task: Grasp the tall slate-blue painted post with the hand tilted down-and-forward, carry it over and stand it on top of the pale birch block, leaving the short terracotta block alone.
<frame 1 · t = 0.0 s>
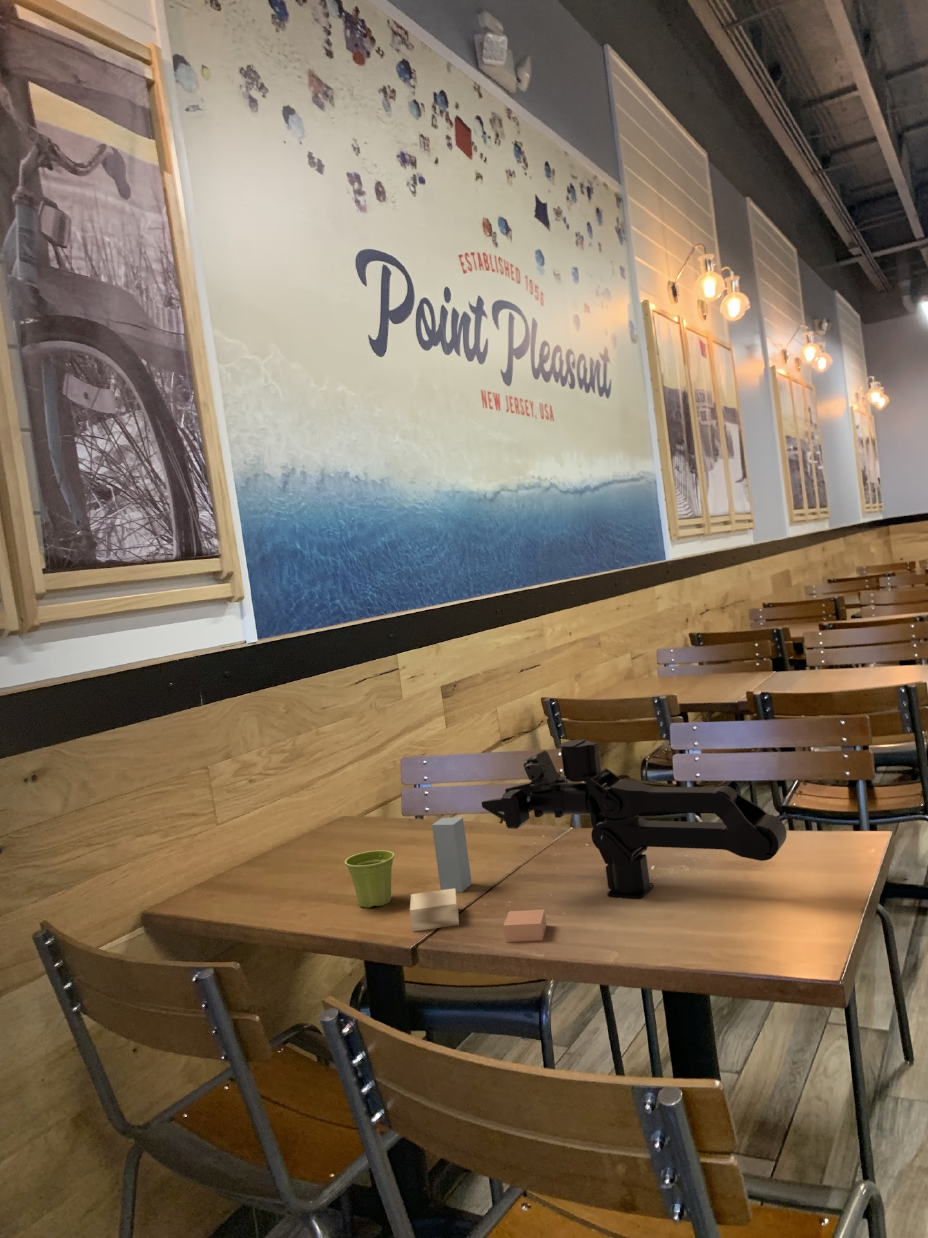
hand: (494, 797, 176), 17 cm above the table, tool horizontal, fingers open, 9 cm apart
slate post: (456, 887, 178), on the table
birch base: (436, 921, 162), on the table
plant pot: (375, 903, 175), on the table
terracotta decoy: (526, 935, 150), on the table
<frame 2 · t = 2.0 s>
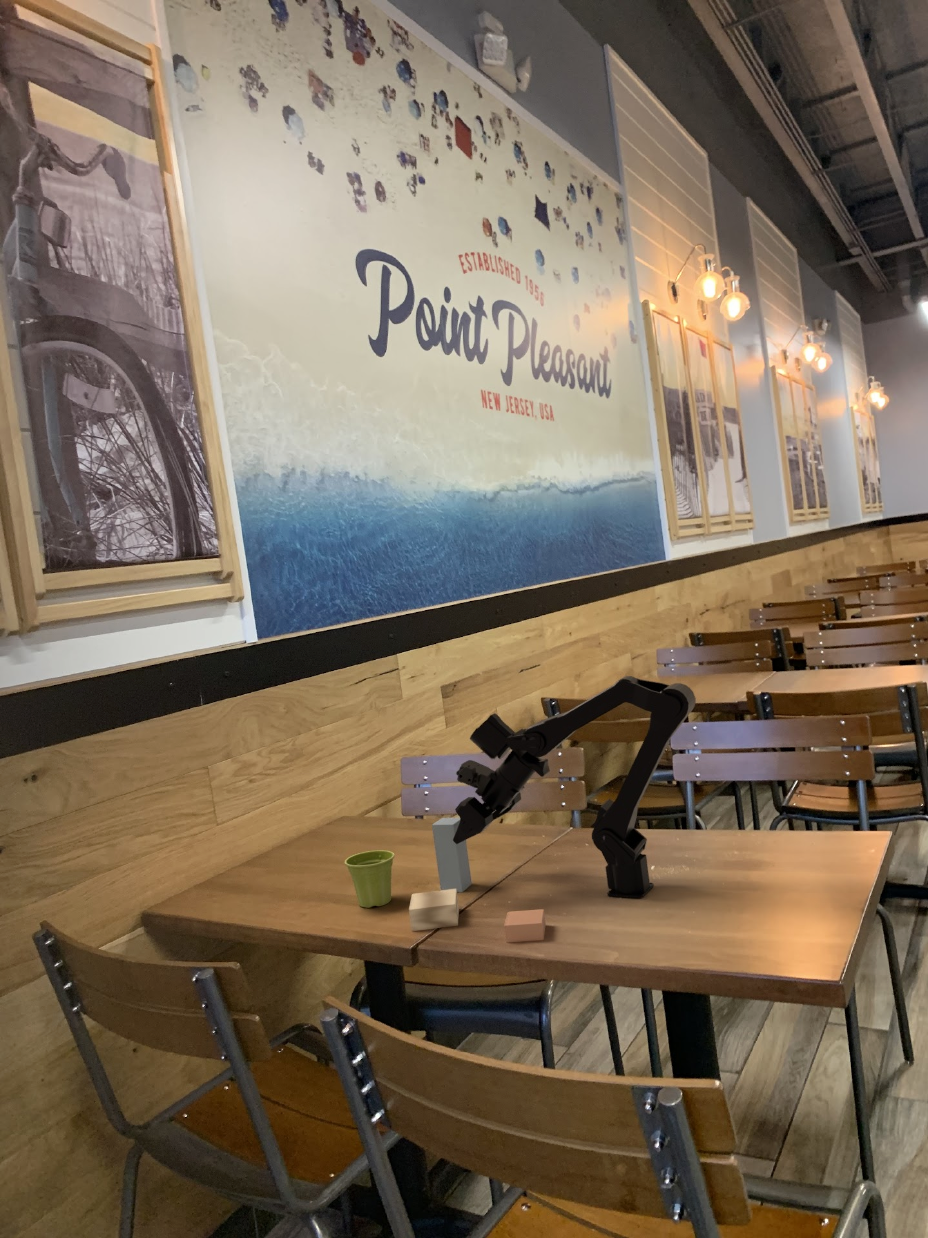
hand: (465, 834, 176), 10 cm above the table, tool tilted 45°, fingers open, 9 cm apart
nothing on the table moved.
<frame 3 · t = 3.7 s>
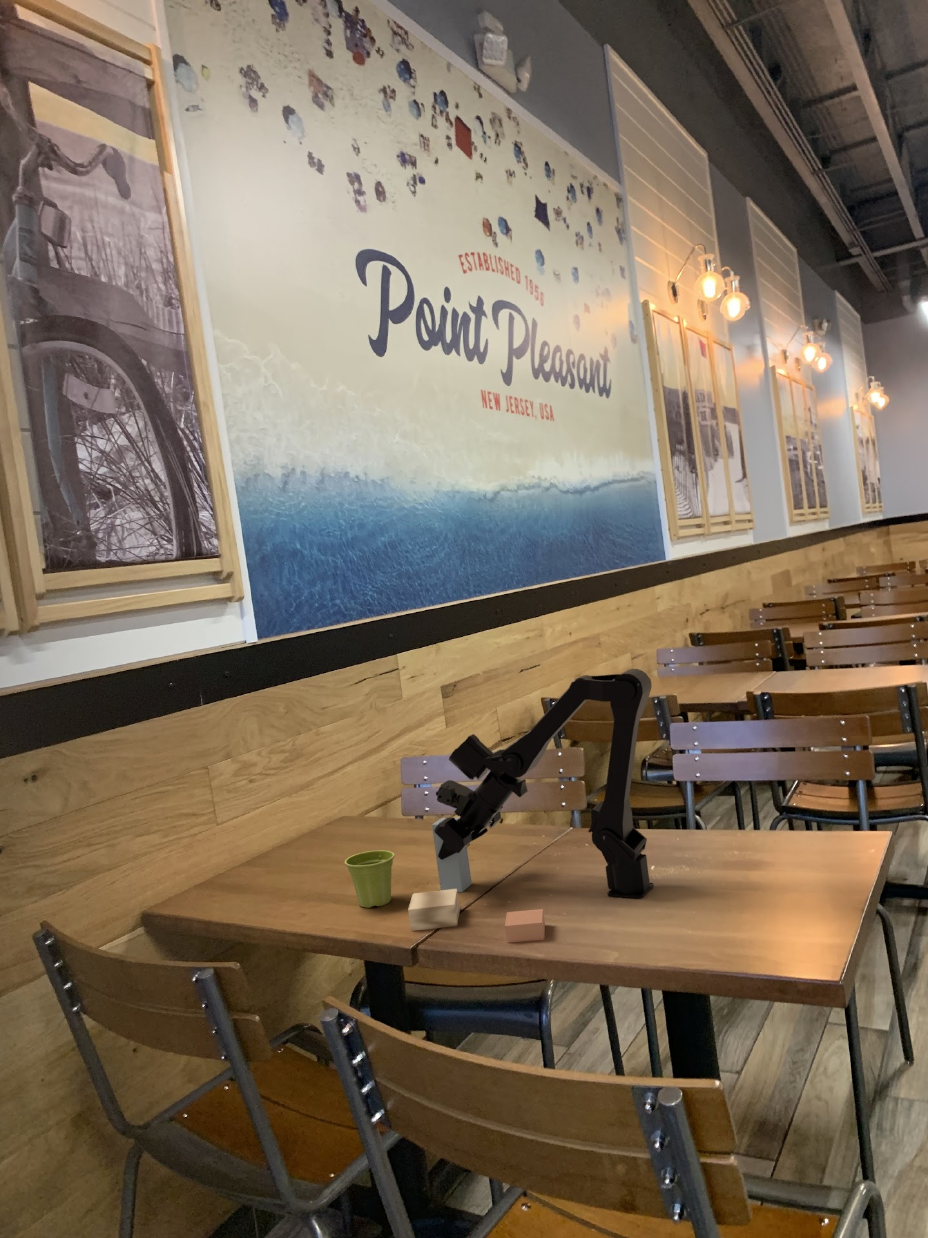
hand: (445, 854, 178), 7 cm above the table, tool tilted 45°, fingers closed on slate post, 4 cm apart
slate post: (456, 887, 178), on the table, touching gripper
everything else where it was.
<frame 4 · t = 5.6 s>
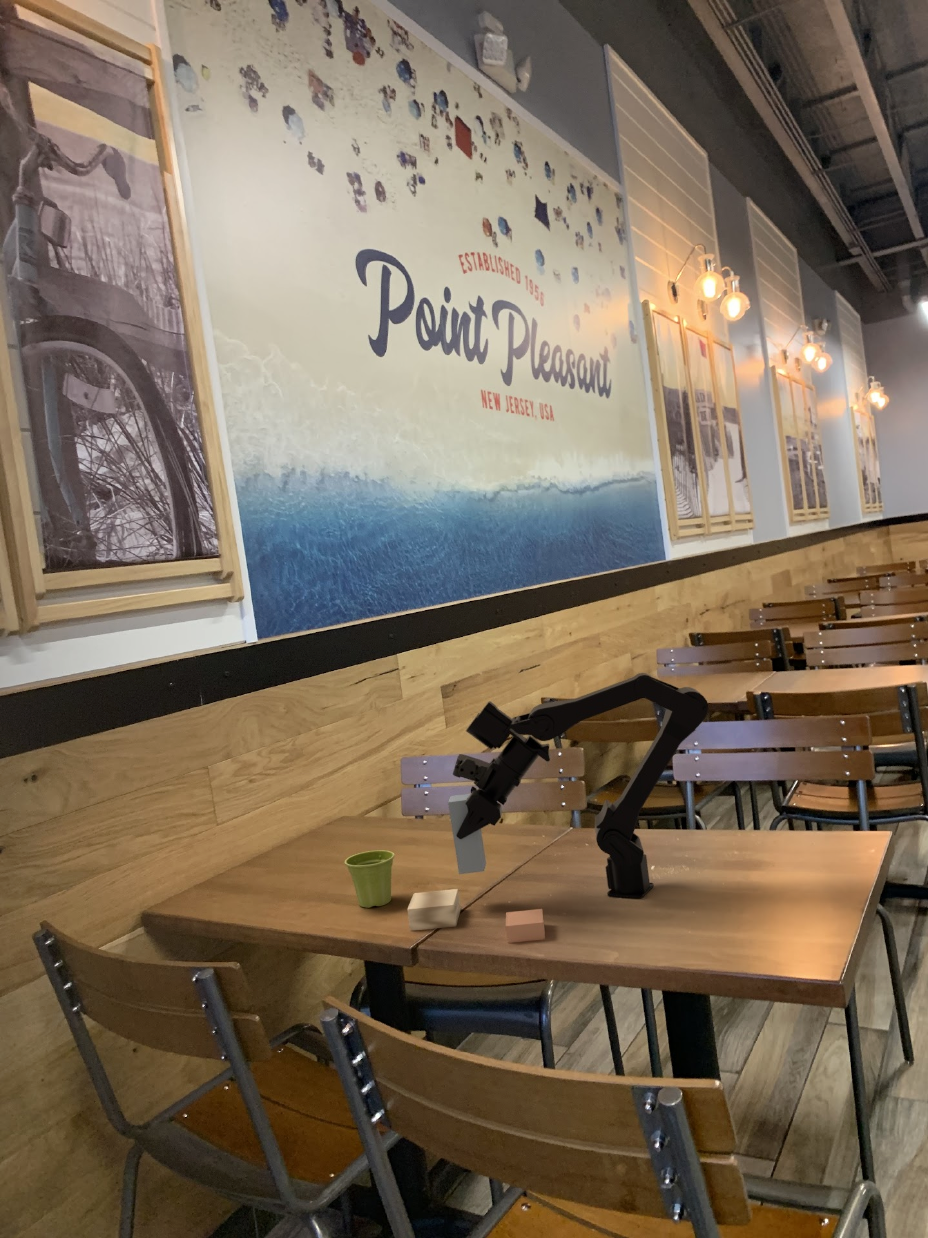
hand: (459, 833, 166), 13 cm above the table, tool tilted 45°, fingers closed on slate post, 4 cm apart
slate post: (472, 868, 166), point 7 cm above the table, touching gripper
everything else where it was.
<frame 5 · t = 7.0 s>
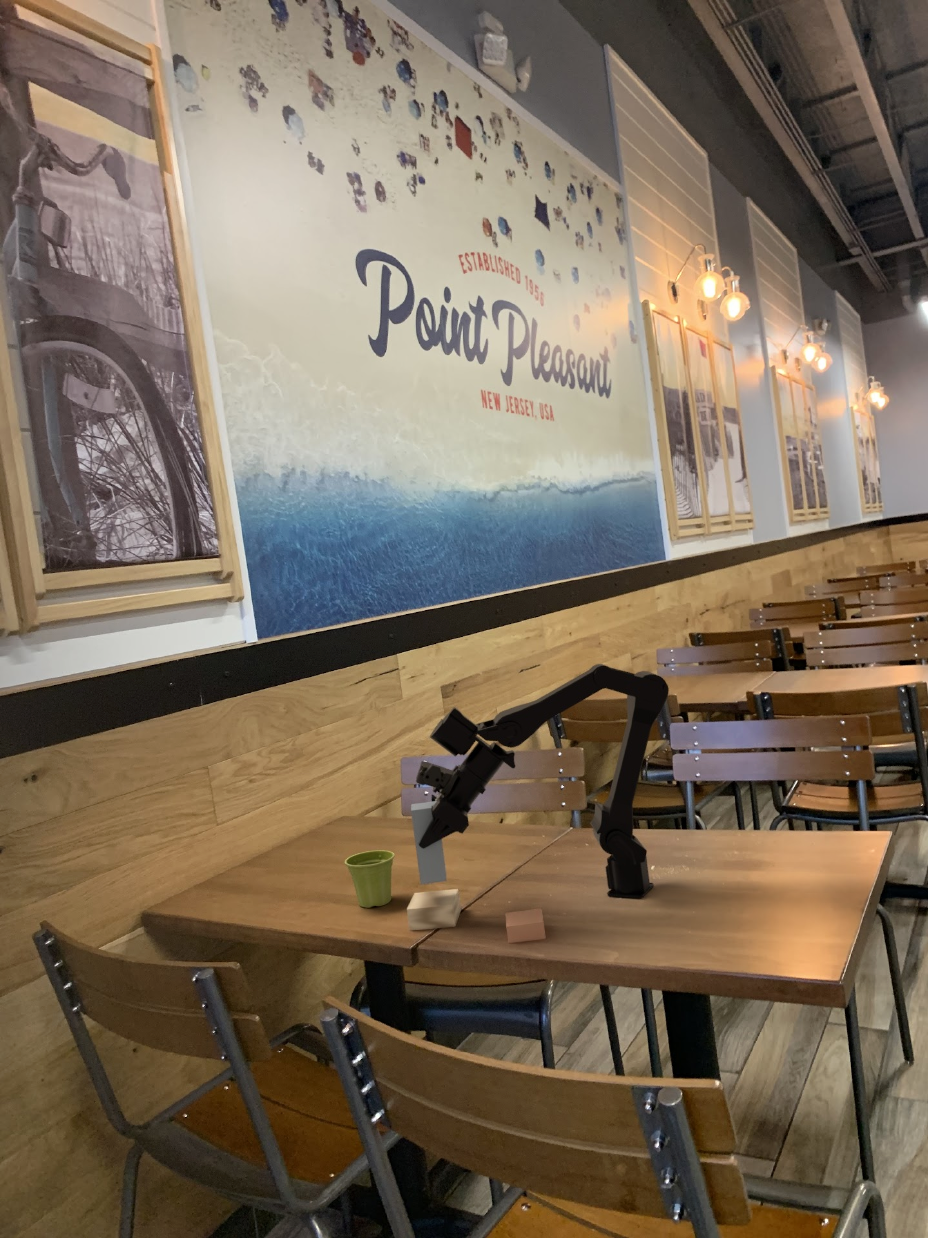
hand: (421, 843, 162), 14 cm above the table, tool tilted 45°, fingers closed on slate post, 4 cm apart
slate post: (433, 878, 162), point 7 cm above the table, touching gripper
everything else where it was.
when the fingers open (12 cm above the table, at t = 7.8 s): slate post drops 1 cm, point 4 cm above the table.
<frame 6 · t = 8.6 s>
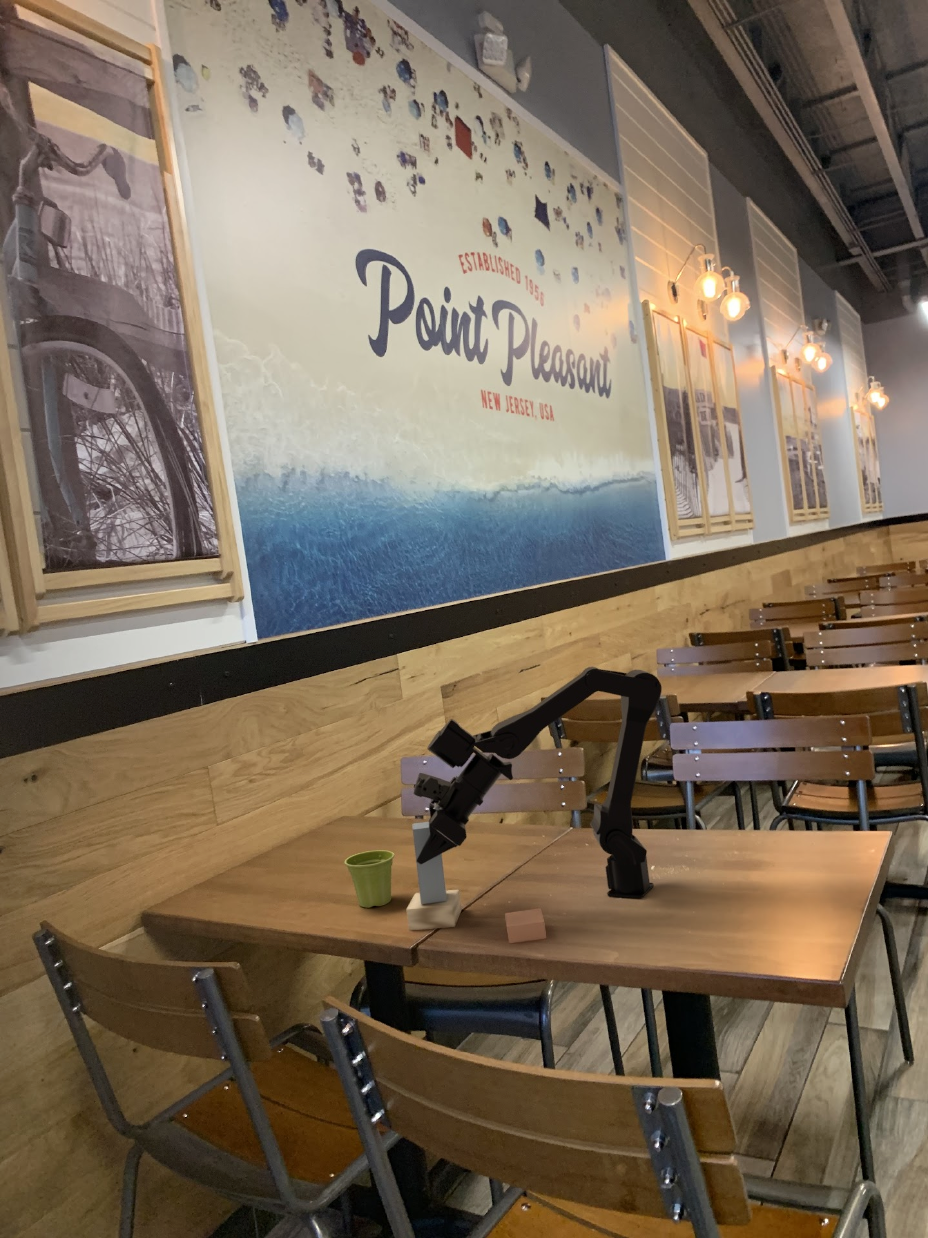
hand: (419, 854, 162), 12 cm above the table, tool tilted 45°, fingers open, 9 cm apart
slate post: (433, 898, 162), point 4 cm above the table
everything else where it was.
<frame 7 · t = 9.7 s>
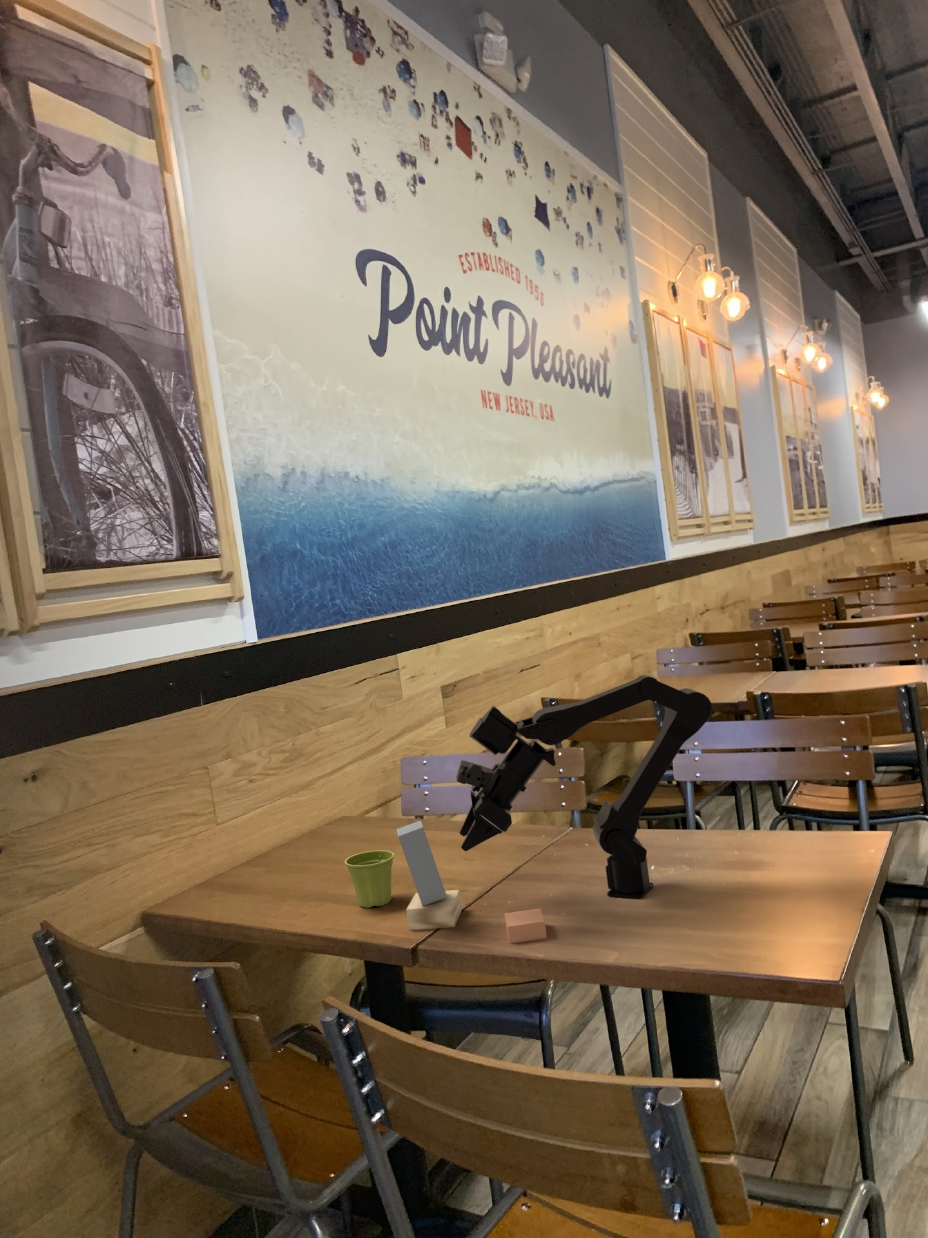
hand: (462, 842, 162), 13 cm above the table, tool tilted 45°, fingers open, 9 cm apart
slate post: (433, 897, 162), point 4 cm above the table, tilted 11°
everything else where it was.
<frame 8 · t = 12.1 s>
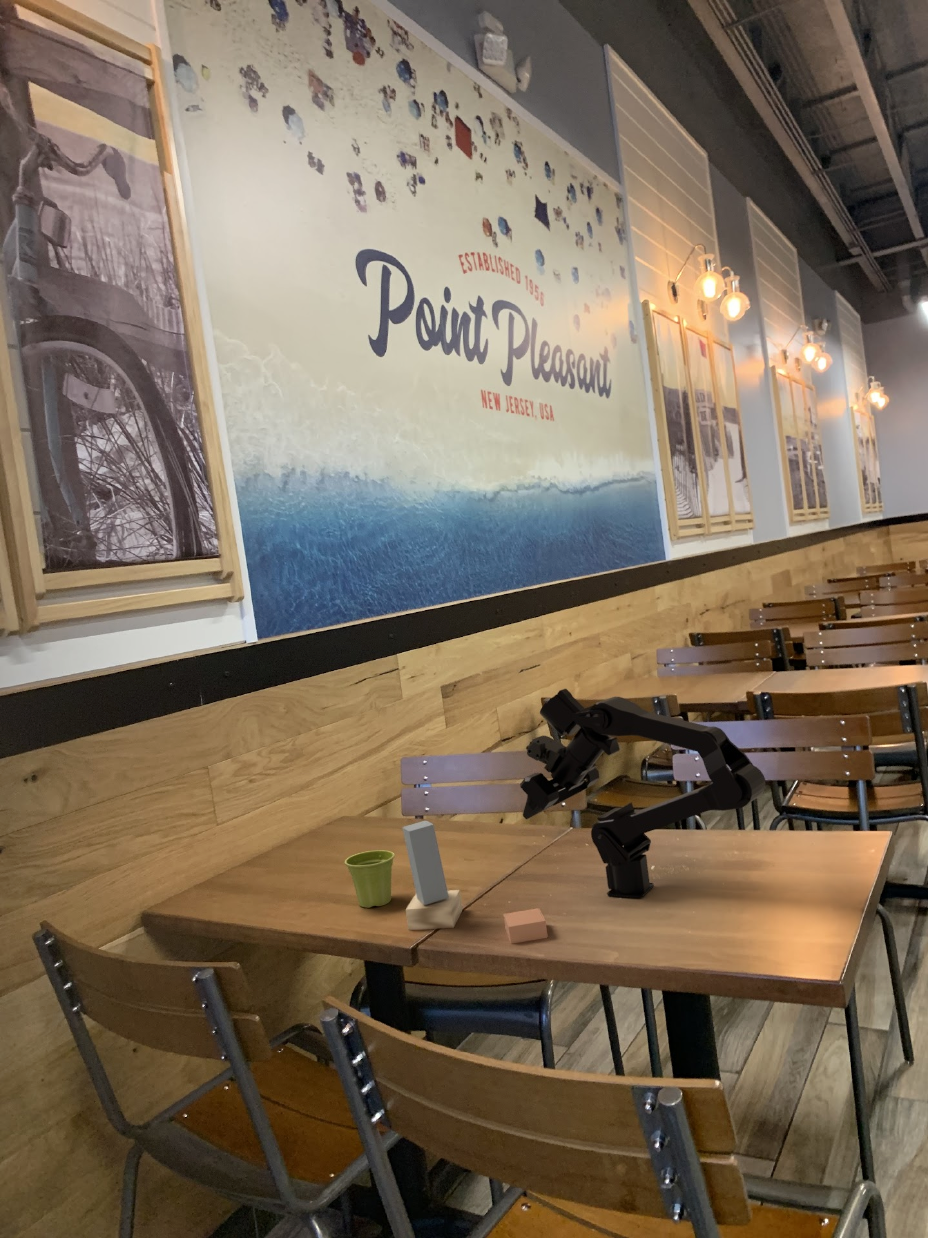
hand: (538, 810, 174), 14 cm above the table, tool tilted 45°, fingers open, 9 cm apart
slate post: (433, 898, 162), point 4 cm above the table
everything else where it was.
at the end: slate post 0.3 cm off-centre on the birch base, point 4.4 cm above the birch base's base; slate post tilted 7°; the gripper is holding nothing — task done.
